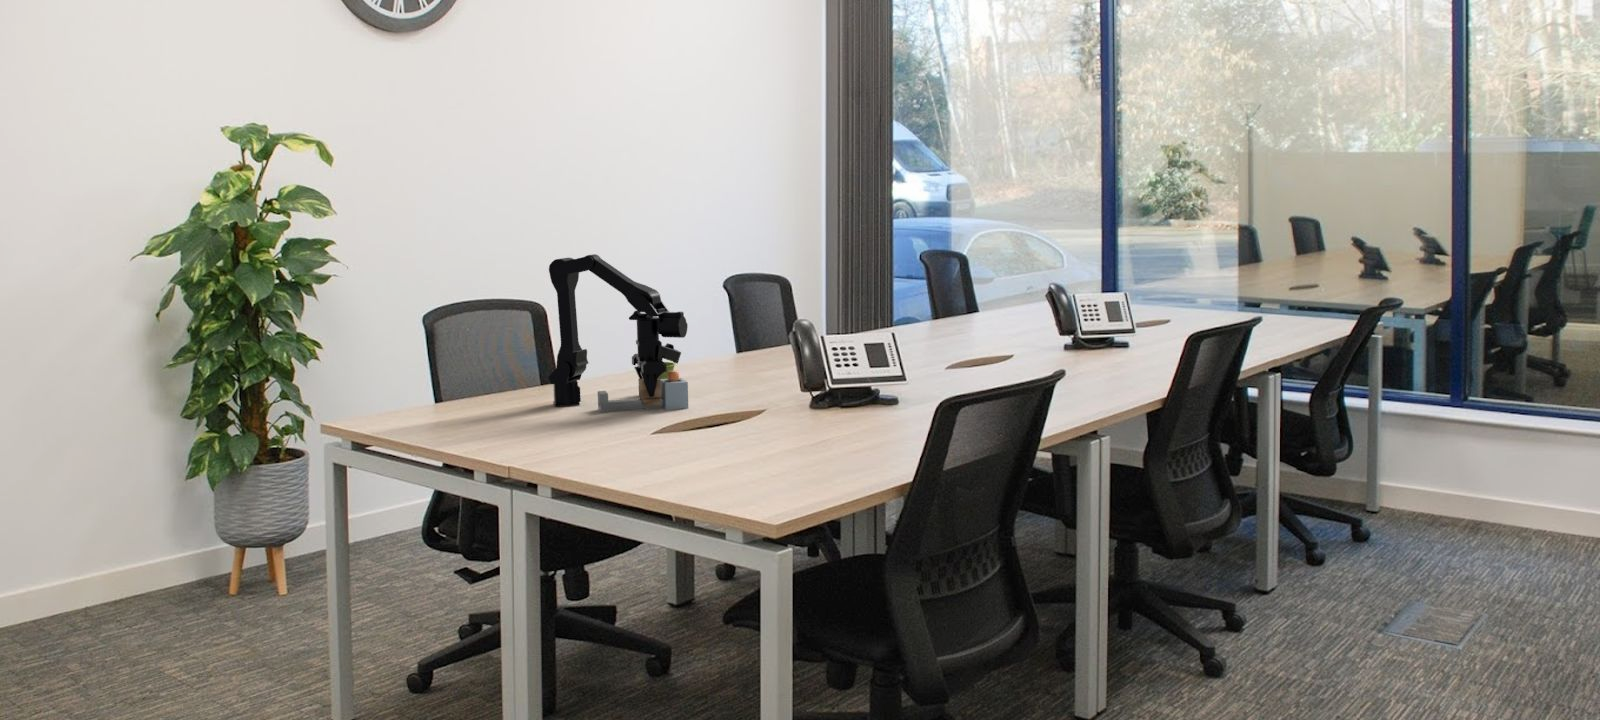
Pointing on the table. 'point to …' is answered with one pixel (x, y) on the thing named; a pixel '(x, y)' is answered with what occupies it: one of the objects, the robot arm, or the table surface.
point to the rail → (623, 404)
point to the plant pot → (669, 368)
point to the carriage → (645, 396)
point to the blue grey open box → (674, 394)
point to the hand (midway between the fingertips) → (649, 395)
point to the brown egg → (673, 376)
